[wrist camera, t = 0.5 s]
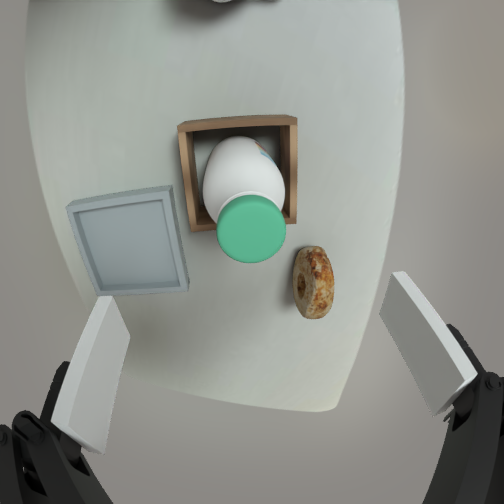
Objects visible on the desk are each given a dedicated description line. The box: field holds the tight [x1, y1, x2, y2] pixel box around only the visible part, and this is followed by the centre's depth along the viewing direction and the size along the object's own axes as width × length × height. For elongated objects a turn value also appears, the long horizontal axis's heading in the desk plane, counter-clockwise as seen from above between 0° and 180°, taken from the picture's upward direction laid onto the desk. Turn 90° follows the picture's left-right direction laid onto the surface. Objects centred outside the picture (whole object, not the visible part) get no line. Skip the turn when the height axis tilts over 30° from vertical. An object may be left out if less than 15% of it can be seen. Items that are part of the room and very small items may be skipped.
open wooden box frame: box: [177, 115, 297, 232], centre depth 33 cm, size 13×13×6 cm
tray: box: [66, 185, 190, 296], centre depth 38 cm, size 16×16×2 cm
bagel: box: [293, 246, 334, 319], centre depth 40 cm, size 10×4×10 cm, turn 176°
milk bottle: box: [203, 136, 286, 263], centre depth 27 cm, size 8×8×20 cm
